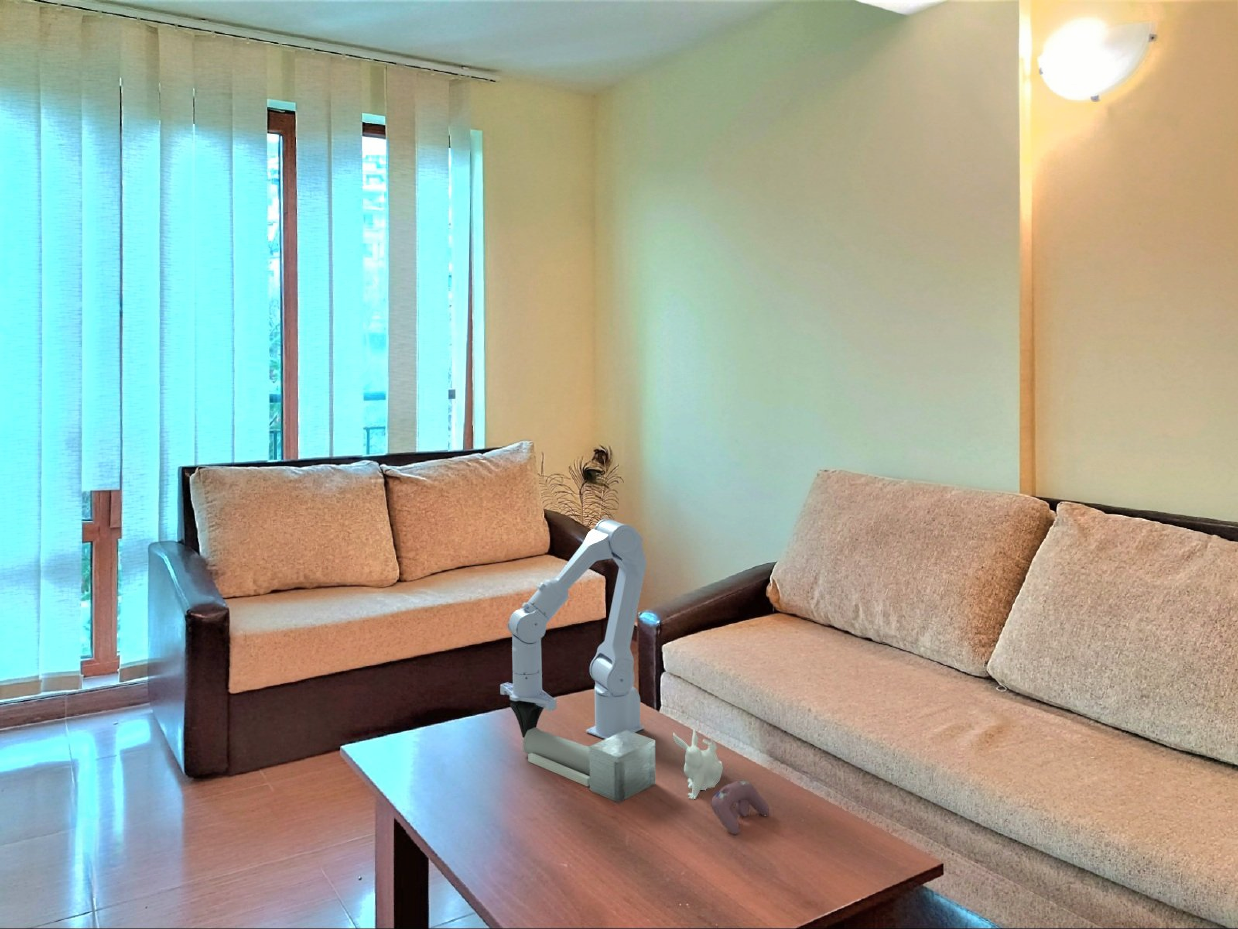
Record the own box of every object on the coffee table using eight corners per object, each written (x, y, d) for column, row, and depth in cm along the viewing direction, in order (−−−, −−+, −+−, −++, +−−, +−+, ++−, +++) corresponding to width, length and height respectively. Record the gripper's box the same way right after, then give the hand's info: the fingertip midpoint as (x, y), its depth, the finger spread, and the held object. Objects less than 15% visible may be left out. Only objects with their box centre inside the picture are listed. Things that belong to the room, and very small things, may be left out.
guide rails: (559, 748, 179) (558, 741, 179) (617, 771, 168) (617, 764, 168) (528, 761, 173) (527, 754, 173) (587, 786, 162) (587, 779, 162)
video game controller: (753, 817, 154) (739, 776, 155) (773, 813, 150) (758, 772, 152) (717, 838, 147) (702, 796, 148) (737, 835, 144) (722, 792, 145)
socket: (626, 772, 168) (626, 730, 167) (655, 783, 163) (655, 740, 162) (589, 790, 161) (589, 746, 160) (618, 802, 156) (618, 757, 155)
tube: (643, 761, 164) (543, 727, 179) (626, 761, 160) (525, 727, 175) (638, 790, 163) (537, 754, 179) (620, 792, 159) (519, 754, 174)
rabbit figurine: (693, 801, 156) (693, 747, 155) (659, 788, 161) (659, 736, 160) (732, 778, 165) (732, 727, 164) (699, 767, 170) (699, 717, 169)
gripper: (487, 667, 179) (489, 733, 181) (536, 683, 169) (538, 753, 171) (514, 659, 184) (516, 723, 186) (563, 674, 175) (564, 741, 176)
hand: (528, 736), depth 179 cm, fingers closed
